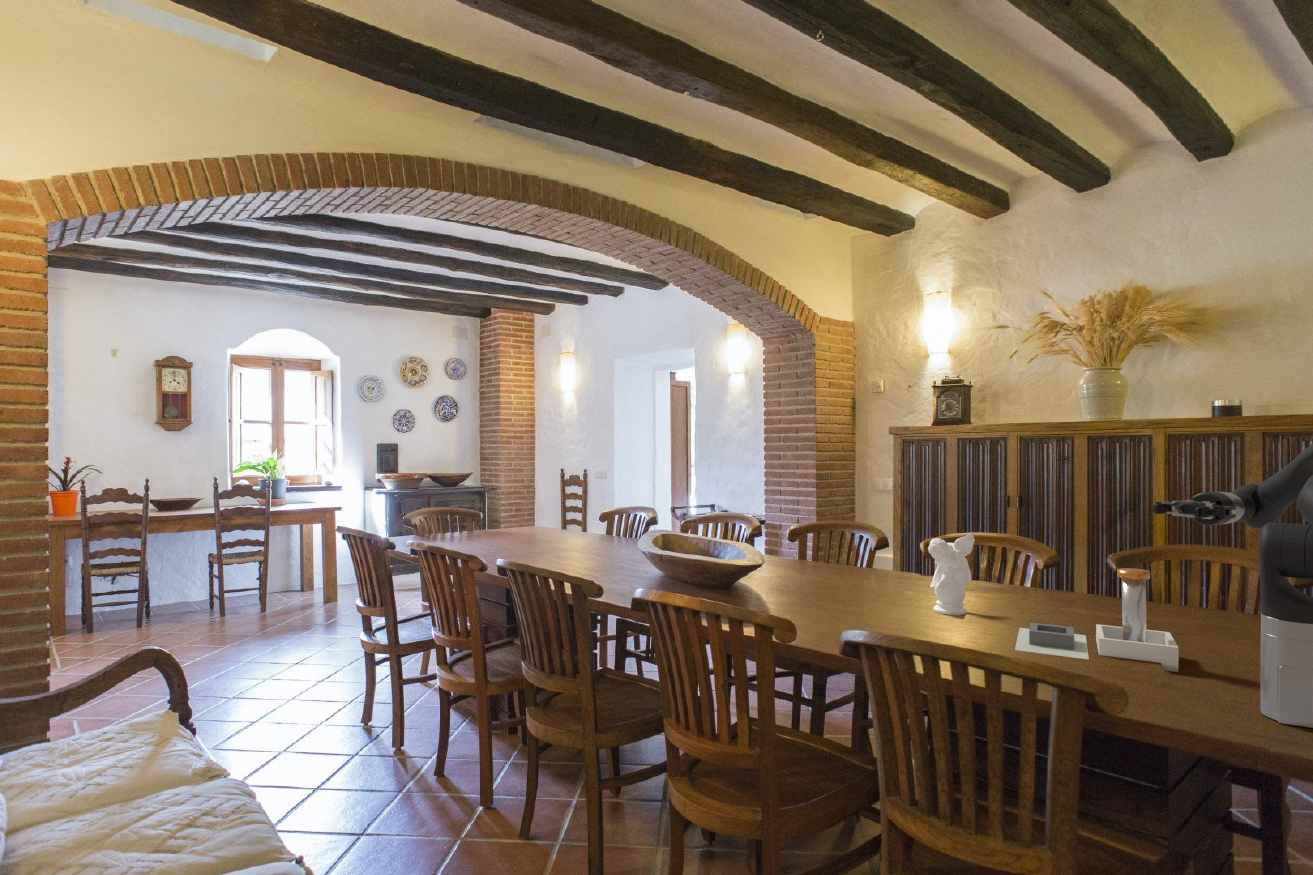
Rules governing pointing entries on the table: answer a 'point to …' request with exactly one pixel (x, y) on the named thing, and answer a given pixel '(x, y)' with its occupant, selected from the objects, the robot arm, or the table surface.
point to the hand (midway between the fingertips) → (1175, 510)
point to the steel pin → (1134, 603)
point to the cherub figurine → (951, 573)
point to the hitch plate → (1052, 641)
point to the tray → (1138, 646)
